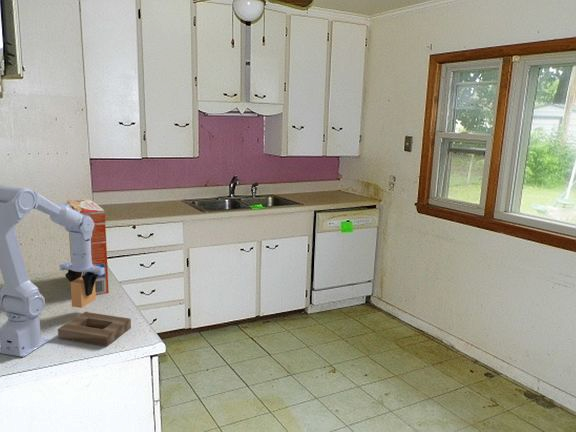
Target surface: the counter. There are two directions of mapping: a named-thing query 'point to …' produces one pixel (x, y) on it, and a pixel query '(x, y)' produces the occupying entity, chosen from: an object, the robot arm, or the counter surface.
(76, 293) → the keyed peg
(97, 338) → the keyed socket
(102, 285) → the cereal box
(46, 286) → the counter surface
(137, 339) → the counter surface
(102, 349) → the counter surface
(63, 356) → the counter surface
